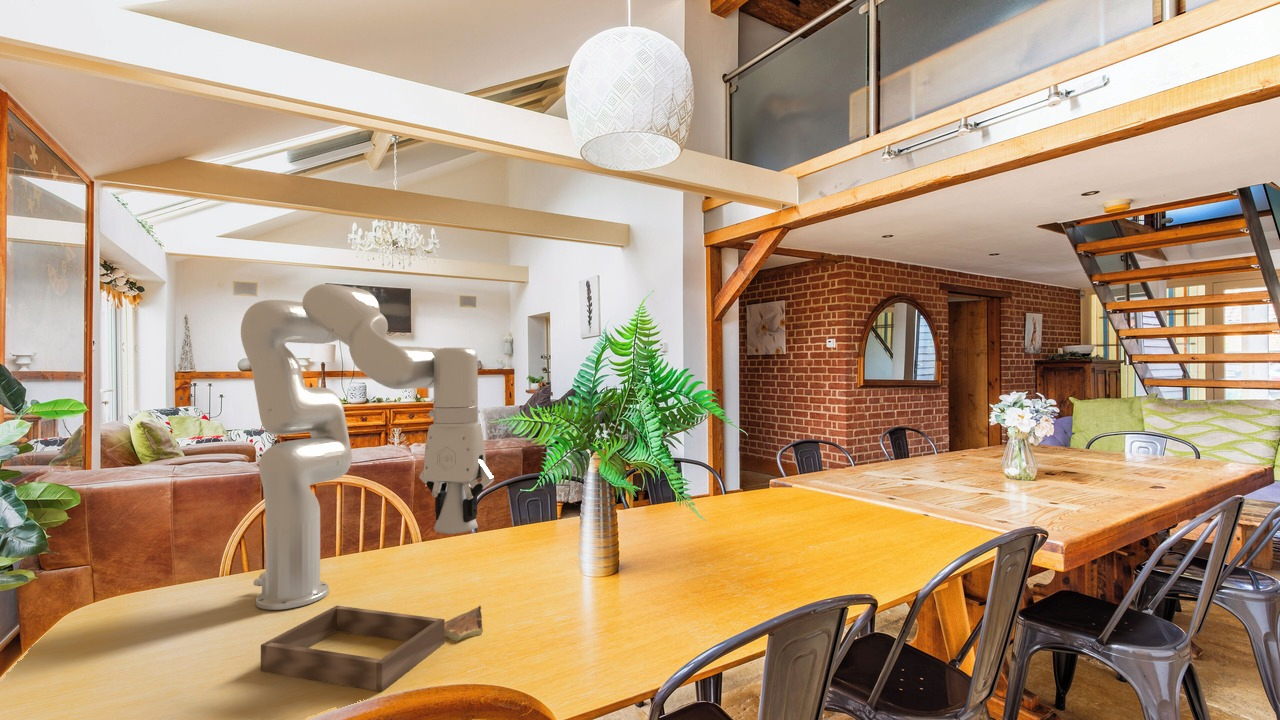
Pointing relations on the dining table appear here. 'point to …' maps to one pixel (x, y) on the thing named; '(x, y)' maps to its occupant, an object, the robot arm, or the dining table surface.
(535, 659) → the dining table surface
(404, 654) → the brown wooden frame
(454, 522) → the flask
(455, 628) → the shard
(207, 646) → the dining table surface
